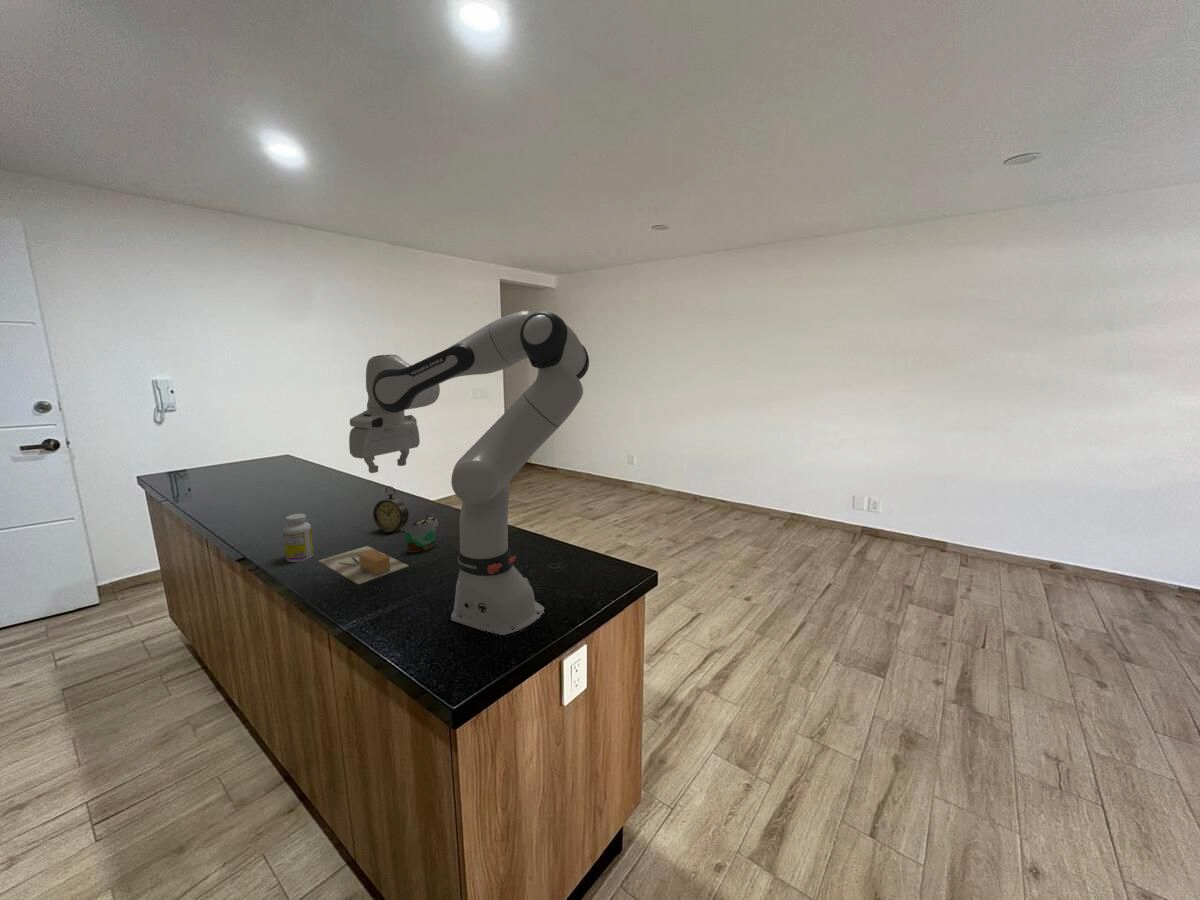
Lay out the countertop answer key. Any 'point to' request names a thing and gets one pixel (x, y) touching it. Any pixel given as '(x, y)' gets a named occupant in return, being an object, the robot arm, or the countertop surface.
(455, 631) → the countertop surface
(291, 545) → the supplement bottle
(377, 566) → the block
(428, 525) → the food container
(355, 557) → the birch board
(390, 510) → the alarm clock
